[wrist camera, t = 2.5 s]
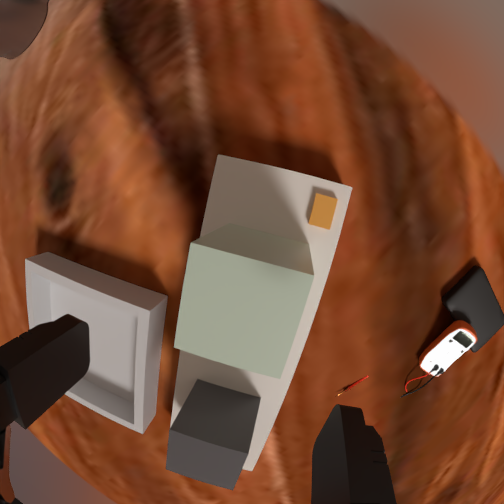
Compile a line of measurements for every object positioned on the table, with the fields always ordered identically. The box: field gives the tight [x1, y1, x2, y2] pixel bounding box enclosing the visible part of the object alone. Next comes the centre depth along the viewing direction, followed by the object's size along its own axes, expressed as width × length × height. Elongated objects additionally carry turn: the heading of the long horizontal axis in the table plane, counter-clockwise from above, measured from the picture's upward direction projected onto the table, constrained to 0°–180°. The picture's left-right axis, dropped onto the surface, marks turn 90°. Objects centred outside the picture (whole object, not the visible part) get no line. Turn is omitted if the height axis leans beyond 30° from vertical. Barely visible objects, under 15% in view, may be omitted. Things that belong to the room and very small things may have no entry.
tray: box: [25, 252, 168, 434], centre depth 27 cm, size 15×15×4 cm
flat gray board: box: [170, 154, 352, 471], centre depth 24 cm, size 28×9×4 cm, turn 166°
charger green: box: [174, 223, 314, 379], centre depth 18 cm, size 5×5×10 cm
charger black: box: [166, 379, 261, 490], centre depth 22 cm, size 5×5×9 cm
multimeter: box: [337, 265, 504, 398], centre depth 23 cm, size 18×12×3 cm, turn 128°
